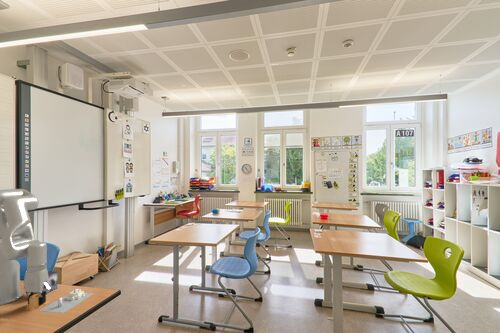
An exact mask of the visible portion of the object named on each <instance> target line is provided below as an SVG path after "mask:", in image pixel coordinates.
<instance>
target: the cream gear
mask: <svg viewBox="0 0 500 333" xmlns="http://www.w3.org/2000/svg"><path fill="white" fill-rule="evenodd" d="M77 289H78V292H76V293H74V290H75V289H73V290H72V291H70V292H69V294H70V295H68V294H66V295H67V300H71V301H74V300H75V299H80V298H81V297H83V296H84V293H85V291H84V290H82V289H81V288H77Z"/></svg>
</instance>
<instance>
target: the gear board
mask: <svg viewBox="0 0 500 333" xmlns="http://www.w3.org/2000/svg"><path fill="white" fill-rule="evenodd" d="M78 289H79V288H75V289H73V290H74V293H76V292H78ZM67 295H70V293H68V294H66V295H64V296H63V297H59V298H58V299H57V300H56V301H54V302H52V303H49V305H48V304H47V306H46V305H45V307H43V308H40V310H39V312H49V313H60V314H61V313H62V314H64V313H65V312H67V311H69V310H70V309H72V308H74V307H76V306H77V305H79V304H80V303H81V302H82V303H83V301H85V300H86V299H88V298H90V297H91V296H93V295H95V293H92V292H84V296H83V297H81V298H80V299H75V300H74V301H71V300H67Z"/></svg>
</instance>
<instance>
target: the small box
mask: <svg viewBox="0 0 500 333" xmlns="http://www.w3.org/2000/svg"><path fill="white" fill-rule="evenodd" d="M58 275H59V274H58V271H53V270H51V271H50V270H49V271H48V277H49V287H50V288H51V290H50V291H49V292H48V293H47V294H49V293H51V292H53V291H55V290H57V289H58V282H59V281H58V278H59V277H58ZM41 292H42V293H43V291H41ZM34 294H38V293H37V292H35V293H34Z"/></svg>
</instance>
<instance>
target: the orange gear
mask: <svg viewBox="0 0 500 333" xmlns="http://www.w3.org/2000/svg"><path fill="white" fill-rule="evenodd" d="M39 297H40V296H39V293H38V294H35V295H32V296H30V298H29V305H28V304H27V306H26V308H25V310H26V311H27V310H29V311H34V309H42V307H43V306H46V305H48V300H46V302H45V303H44V304H42V305H38V298H39Z"/></svg>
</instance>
